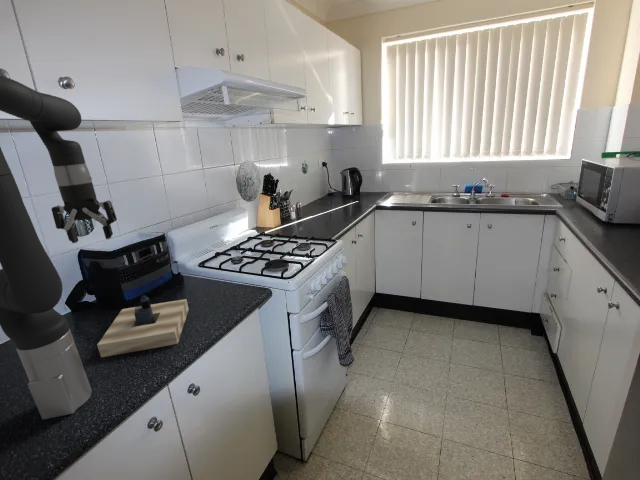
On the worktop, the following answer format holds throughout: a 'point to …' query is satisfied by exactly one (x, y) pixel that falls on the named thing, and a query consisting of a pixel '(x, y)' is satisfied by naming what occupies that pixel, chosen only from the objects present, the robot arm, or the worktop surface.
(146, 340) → the socket dock
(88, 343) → the worktop surface
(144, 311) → the vaping device
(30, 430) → the worktop surface
